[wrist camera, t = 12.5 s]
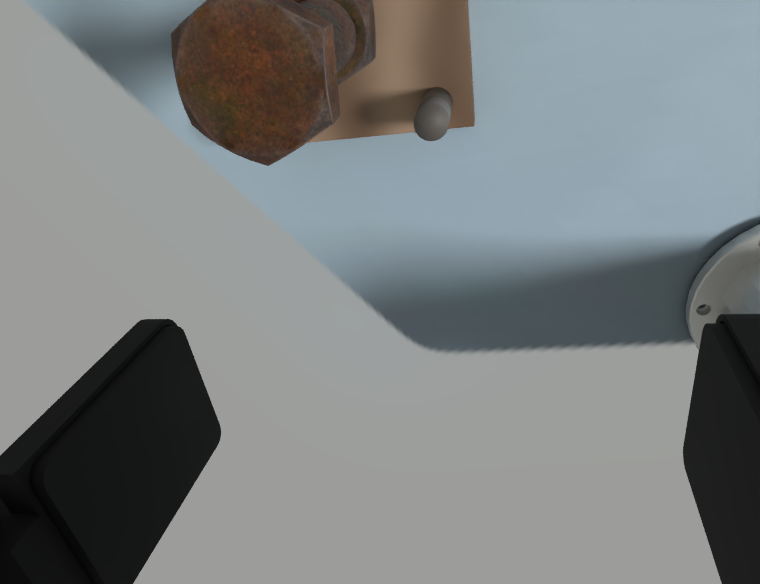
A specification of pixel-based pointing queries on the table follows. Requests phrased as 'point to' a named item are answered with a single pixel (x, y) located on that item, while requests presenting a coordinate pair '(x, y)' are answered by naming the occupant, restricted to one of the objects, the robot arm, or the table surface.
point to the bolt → (269, 69)
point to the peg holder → (411, 74)
